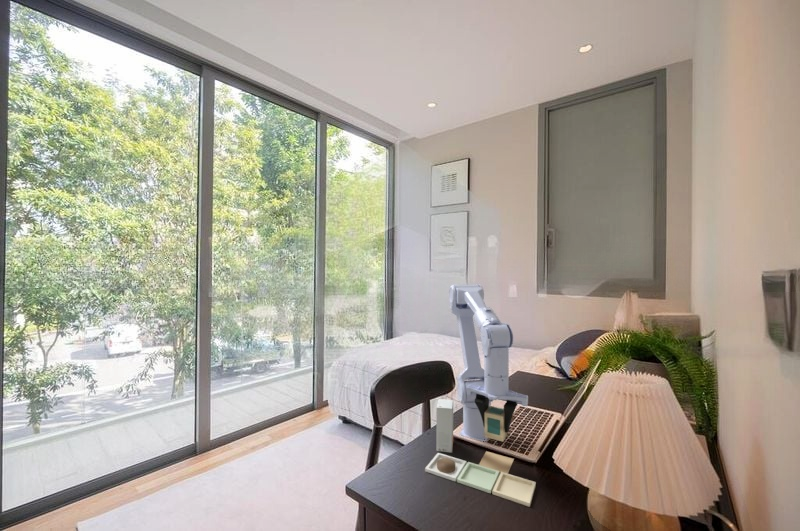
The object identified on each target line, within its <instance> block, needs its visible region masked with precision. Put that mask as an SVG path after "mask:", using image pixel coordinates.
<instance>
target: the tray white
mask: <svg viewBox="0 0 800 531" xmlns="http://www.w3.org/2000/svg"><path fill="white" fill-rule="evenodd" d="M442 458H448V459H451V460H453V461H454V462H455V471H454V472H452V473H443V472H440V471H439V470H438V469H437V461H438V460H440V459H442ZM467 463H468V462H467V460H464V459H460V458H457V457H453V456H451V455H447V454H444V453H441V452H437V453H436V454H435V455H434V456H433V458H432V459H431V460H430V461H429V463H428V464H427V465H426V466H425V468H424V472H426V473H429V474H431V475H434V476H437V477H439V478H443V479H446V480H448V481H449V480H450V481H452V482H457V478H458V477H459V475H460V474H461V472H462V470H463V469H464V467H465V466H466V464H467Z"/></svg>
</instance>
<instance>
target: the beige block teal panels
mask: <svg viewBox="0 0 800 531" xmlns="http://www.w3.org/2000/svg"><path fill="white" fill-rule="evenodd" d="M504 425H505V414H504V407H498V406H494V405H490V406H489V407H488V408H487V410H486V411H485V437H487V438H488V439H490V440H491V439H492V440H494V441H500V442H504V441H505V439H506V438H507V435H508V433H509V432H508V433H506V432H505V429H504Z"/></svg>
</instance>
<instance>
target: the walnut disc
mask: <svg viewBox="0 0 800 531" xmlns="http://www.w3.org/2000/svg"><path fill="white" fill-rule="evenodd" d="M437 469H438V470H439V471H440V472H443V473H452V472H454V471H455V462H454V461H453V460H451V459H448V458H442V459H440V460H438V461H437Z"/></svg>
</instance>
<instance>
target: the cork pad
mask: <svg viewBox="0 0 800 531" xmlns="http://www.w3.org/2000/svg"><path fill="white" fill-rule="evenodd" d="M514 460H515V458H512V457H508V456H504V455H501V454H498V453H494V452H490V451H487V450H486V451H485V453H484V454H483V456H482V458H481V460H480V462H479V463H478V465H481V466H484V467H487V468H491V469H494V470H497V471H499V474H500V473H501V472H504V473H507V474H510V473H509V472H510V470H511V467H512V466H513V463H514Z"/></svg>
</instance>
